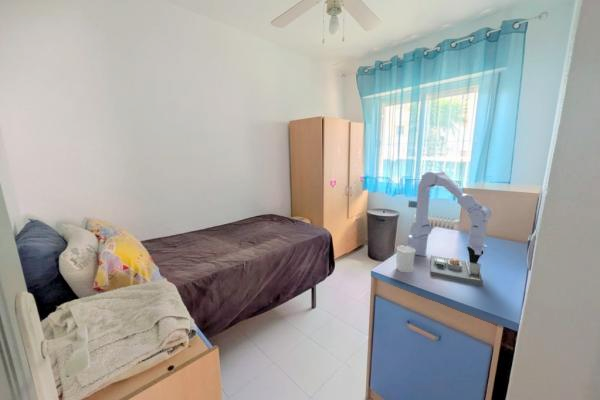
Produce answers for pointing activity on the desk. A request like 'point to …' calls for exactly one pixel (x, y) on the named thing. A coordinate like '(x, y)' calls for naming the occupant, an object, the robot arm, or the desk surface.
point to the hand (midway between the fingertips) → (472, 263)
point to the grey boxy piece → (474, 268)
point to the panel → (454, 271)
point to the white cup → (405, 258)
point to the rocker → (440, 261)
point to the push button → (454, 261)
